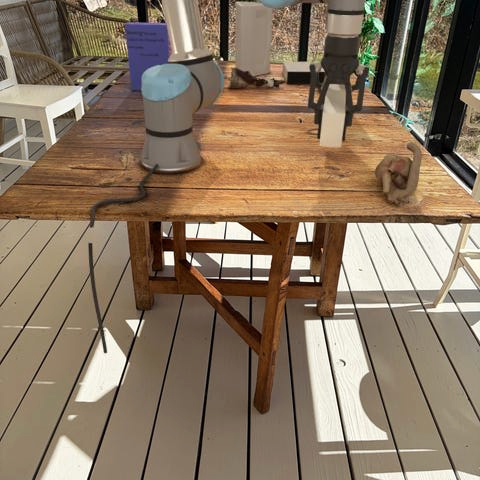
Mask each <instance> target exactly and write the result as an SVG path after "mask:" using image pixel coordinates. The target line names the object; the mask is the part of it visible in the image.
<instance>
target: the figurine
mask: <svg viewBox="0 0 480 480" xmlns="http://www.w3.org/2000/svg"><path fill="white" fill-rule="evenodd" d="M230 69H231V72H230V73H231V74H230V76H229V75H225V74H223V76H224V81H225V80H227V81H229V84H228V88H229V89H241V88H247V87H249V86H255V87H256V88H262V87H268V88H271V89H273V88H280V86H281V85H284V84H287V81H286V79H275V78H274V77H272V78H265V77H262V78H261V77H257V76H252V75H251V73H250V72H249V71H245V72H244V71H242V70H240V69H237V68H235V67H232V66H231V67H230Z"/></svg>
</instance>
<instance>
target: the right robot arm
mask: <svg viewBox="0 0 480 480" xmlns="http://www.w3.org/2000/svg"><path fill="white" fill-rule="evenodd" d="M328 8H329V4H327V3H326V12H325V18H324V19H325V20H324V21H325V22H324V25H325V27H326V26H327V16H328ZM327 35H328V33H327V34H326V36H327ZM321 68H322V66H321V67H320V68H319V72H320V71H321ZM319 72H317V77H316V86H315V89H317V90H318V92H319V94H320V93H321V90H322V88H323V85H324V82H325V80H326V77H327V75H326V73H325V72H324V82H321V83H319V74H318V73H319ZM355 75H357V76H356V79H355V83H354V84H352V83H351V82H350V84H351V92H352V93H353V92H355V91H358V90H359V81H360V75H359V69H358V68H357V69H356V70H355ZM330 84H338V85H345V84H344V80H340V79H335V80H331V83H330ZM324 102H325V98H324V101H323V104H322V106H324ZM345 107H348V105H347V98H346V105H345Z"/></svg>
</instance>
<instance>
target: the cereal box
mask: <svg viewBox="0 0 480 480" xmlns="http://www.w3.org/2000/svg"><path fill="white" fill-rule="evenodd" d="M124 29H125V30H124V31H125V39H126V50H127V58H128V69H129V78H130V88H131V91H137V92H138V91H139V92H141V87H142V75H143V73H144V72H145V71H146V70H147V69H149V68H151V67H154V66H157V65H163V64H168V59H169V57H170V55H171V54H172V49H171V44H170V39H169V34H168V30H167V25H166V22H137V21H136V22H135V21H134V22H133V21H131V22H130V21H128V22H125V23H124Z"/></svg>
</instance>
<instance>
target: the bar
mask: <svg viewBox="0 0 480 480" xmlns="http://www.w3.org/2000/svg"><path fill="white" fill-rule="evenodd" d="M345 105H346V90H345V85H338V84H330V85H329V88H328V90H327V93H326V96H325V102H324V105H323V108H322V109H323V115H322V125H321V134H320V139H319V144H318V146H319V147H327V148H341V149H342V143H343V141H342V136H343V128H344V120H345V111H346V106H345Z"/></svg>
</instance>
